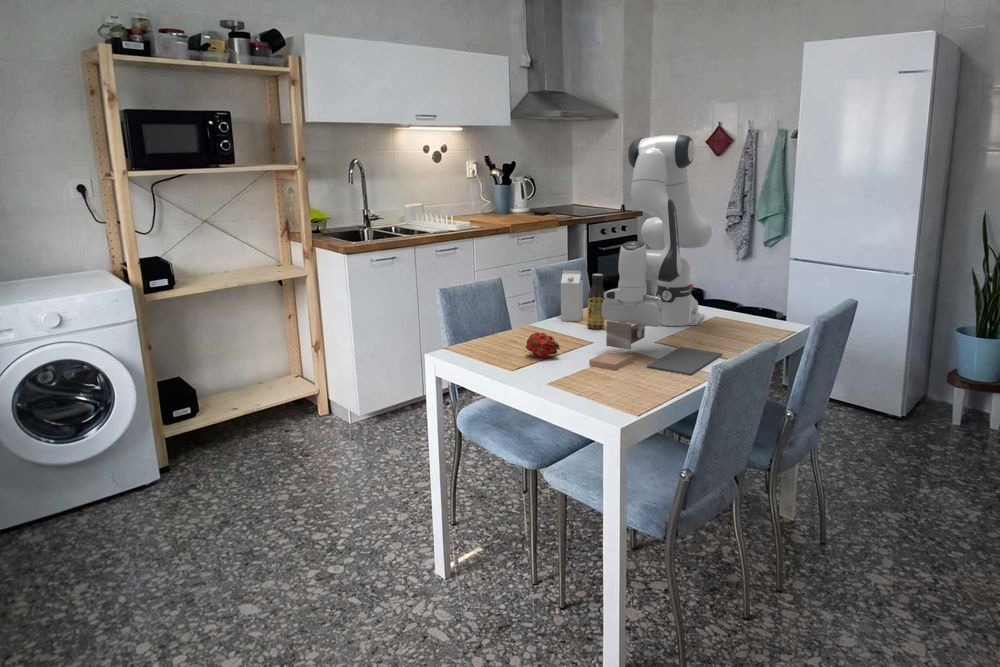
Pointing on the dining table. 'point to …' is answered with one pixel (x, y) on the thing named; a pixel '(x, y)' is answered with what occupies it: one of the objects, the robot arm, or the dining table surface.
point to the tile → (611, 360)
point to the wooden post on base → (621, 334)
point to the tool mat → (685, 360)
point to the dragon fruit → (542, 345)
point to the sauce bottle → (596, 303)
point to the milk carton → (571, 296)
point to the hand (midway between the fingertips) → (631, 336)
